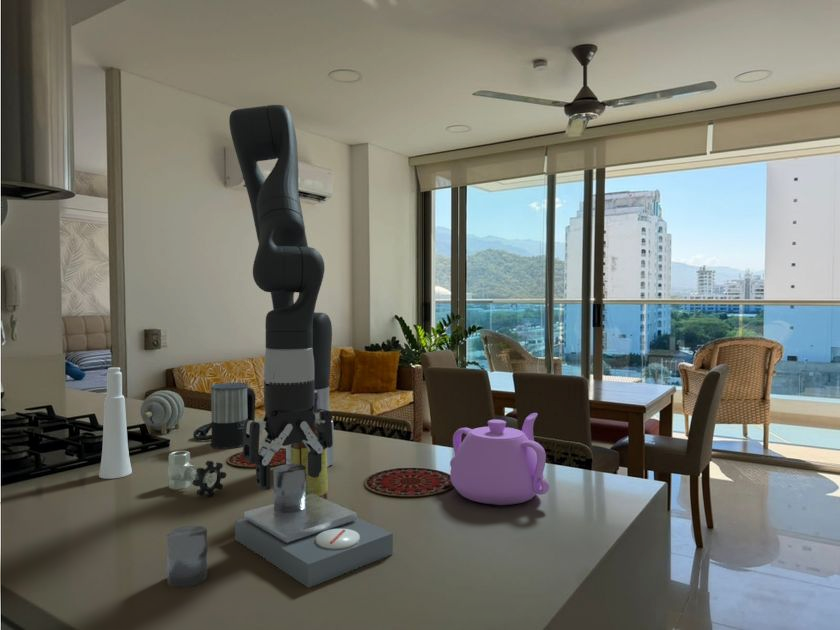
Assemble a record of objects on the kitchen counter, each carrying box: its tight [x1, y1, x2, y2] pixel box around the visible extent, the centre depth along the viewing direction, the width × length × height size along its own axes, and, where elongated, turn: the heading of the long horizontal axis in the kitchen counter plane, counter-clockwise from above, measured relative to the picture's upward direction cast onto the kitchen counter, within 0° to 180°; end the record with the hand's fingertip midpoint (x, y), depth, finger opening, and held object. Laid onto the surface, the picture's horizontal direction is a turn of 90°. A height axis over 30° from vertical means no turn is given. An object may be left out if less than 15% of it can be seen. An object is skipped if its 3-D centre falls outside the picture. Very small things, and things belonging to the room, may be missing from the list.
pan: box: [243, 494, 358, 543], centre depth 87 cm, size 12×12×1 cm
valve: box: [167, 450, 227, 498], centre depth 110 cm, size 7×7×12 cm
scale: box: [234, 517, 394, 589], centre depth 85 cm, size 14×20×4 cm
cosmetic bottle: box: [98, 366, 133, 480], centre depth 119 cm, size 6×6×22 cm
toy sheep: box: [140, 390, 185, 436], centre depth 157 cm, size 11×17×11 cm, turn 1°
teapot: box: [449, 412, 550, 506], centre depth 110 cm, size 22×22×14 cm
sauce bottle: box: [291, 390, 329, 500], centre depth 103 cm, size 7×6×20 cm
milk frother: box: [192, 382, 256, 449], centre depth 147 cm, size 14×16×15 cm
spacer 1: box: [166, 525, 208, 589], centre depth 76 cm, size 5×5×6 cm
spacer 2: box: [273, 464, 306, 513], centre depth 89 cm, size 5×5×6 cm
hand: (289, 482), depth 89 cm, fingers open, 8 cm apart
